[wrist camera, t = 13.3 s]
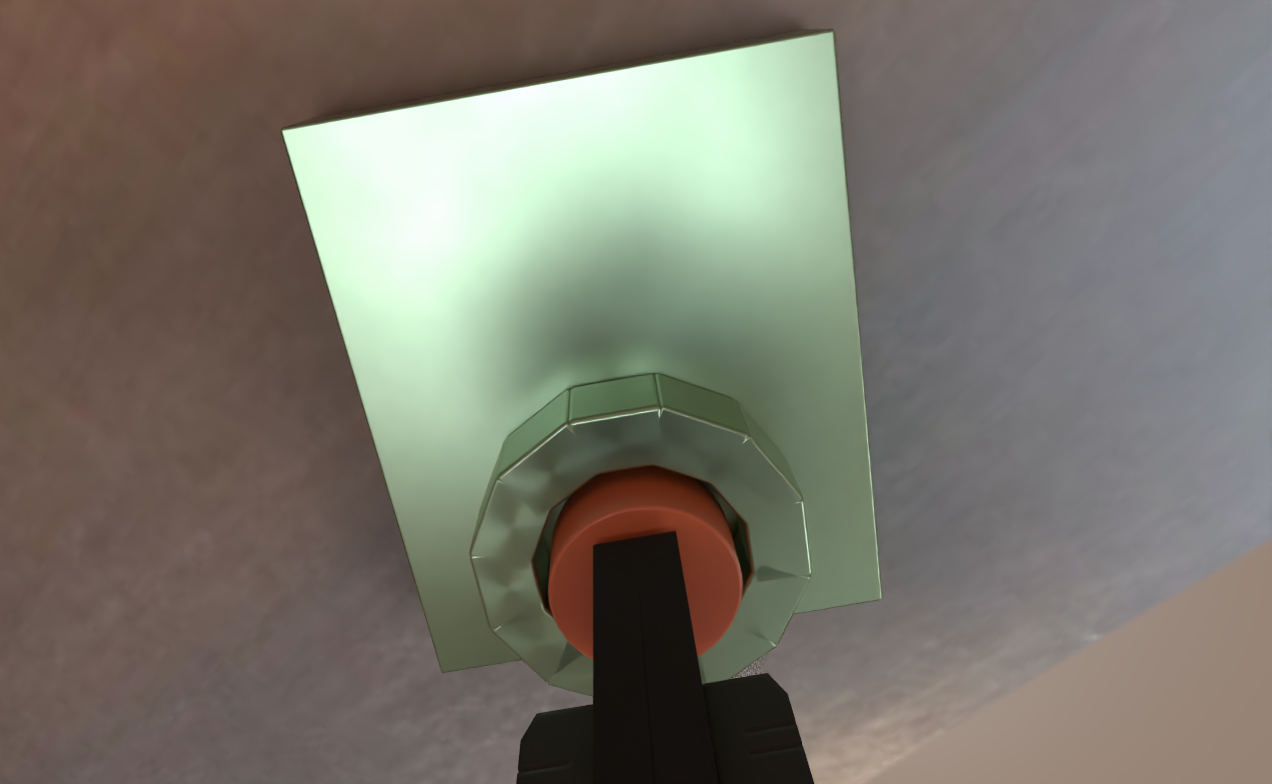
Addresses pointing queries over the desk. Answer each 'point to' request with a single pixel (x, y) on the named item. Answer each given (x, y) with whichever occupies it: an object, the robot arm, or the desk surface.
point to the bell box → (605, 327)
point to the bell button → (636, 511)
